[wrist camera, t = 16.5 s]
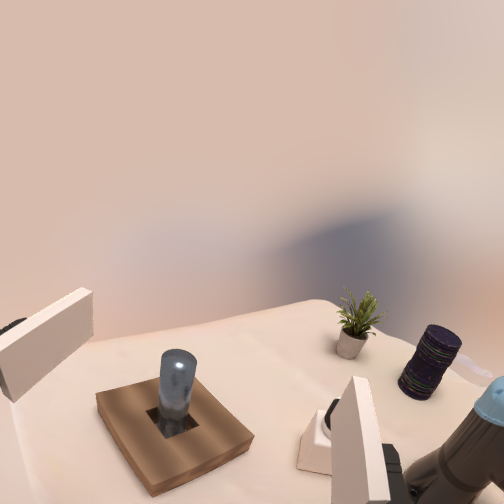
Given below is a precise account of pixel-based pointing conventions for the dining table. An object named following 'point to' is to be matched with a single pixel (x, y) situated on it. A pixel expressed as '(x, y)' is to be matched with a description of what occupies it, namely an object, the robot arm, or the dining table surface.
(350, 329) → the house plant
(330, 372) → the dining table surface
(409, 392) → the storage jar
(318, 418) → the medicine bottle
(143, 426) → the socket block
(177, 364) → the pin
